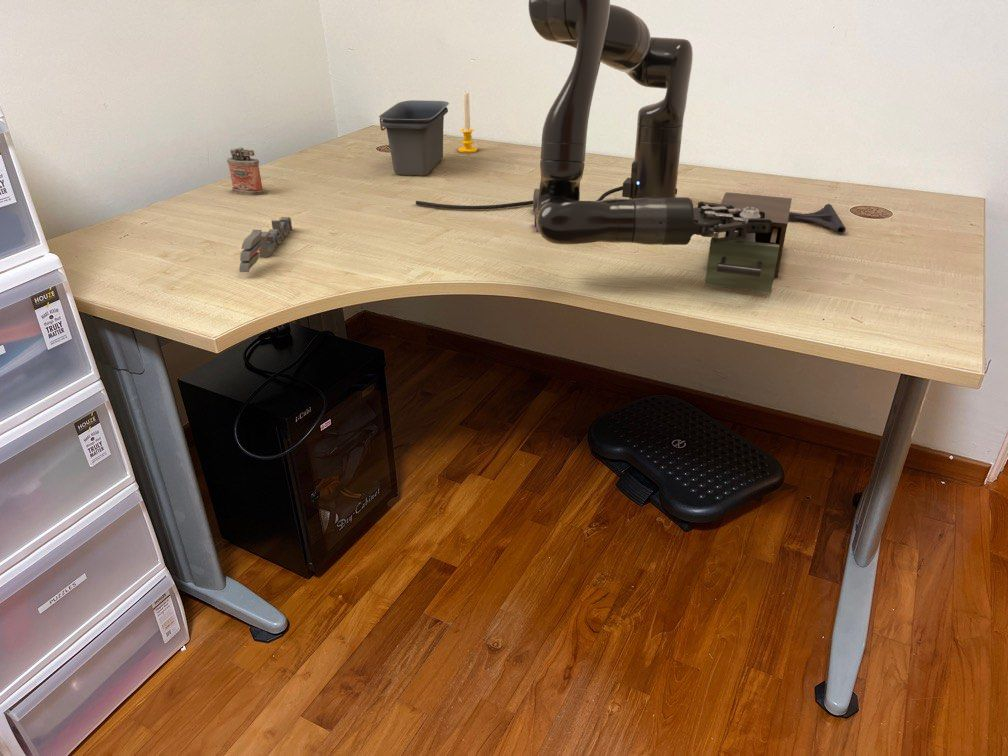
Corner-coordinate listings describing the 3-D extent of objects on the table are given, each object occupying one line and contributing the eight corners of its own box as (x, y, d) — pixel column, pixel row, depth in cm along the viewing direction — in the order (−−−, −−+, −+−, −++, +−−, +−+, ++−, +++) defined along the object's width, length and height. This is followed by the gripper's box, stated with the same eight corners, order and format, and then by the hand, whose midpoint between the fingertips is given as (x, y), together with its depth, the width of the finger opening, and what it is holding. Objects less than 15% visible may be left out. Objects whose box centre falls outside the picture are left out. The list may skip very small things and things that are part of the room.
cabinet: (777, 278, 130) (787, 223, 125) (708, 269, 133) (715, 216, 128) (782, 249, 141) (791, 198, 137) (718, 241, 145) (725, 192, 140)
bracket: (757, 208, 162) (759, 195, 161) (831, 211, 160) (833, 198, 158) (764, 231, 150) (767, 217, 149) (844, 235, 148) (847, 221, 146)
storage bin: (434, 179, 183) (430, 118, 176) (372, 177, 186) (366, 116, 179) (454, 157, 201) (452, 101, 194) (398, 155, 204) (393, 99, 197)
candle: (456, 152, 206) (454, 92, 198) (460, 148, 210) (458, 88, 203) (475, 153, 205) (473, 92, 197) (479, 148, 210) (477, 88, 202)
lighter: (229, 192, 176) (221, 148, 171) (239, 188, 179) (231, 145, 174) (258, 195, 174) (250, 151, 168) (267, 191, 176) (260, 148, 171)
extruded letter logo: (249, 278, 132) (243, 247, 129) (240, 278, 132) (234, 247, 129) (292, 229, 153) (288, 202, 150) (284, 229, 153) (280, 202, 150)
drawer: (768, 305, 118) (776, 258, 114) (700, 296, 121) (706, 250, 117) (776, 263, 133) (784, 220, 129) (715, 256, 136) (721, 214, 132)
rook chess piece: (725, 252, 128) (732, 205, 123) (751, 251, 128) (759, 204, 124) (734, 262, 124) (742, 214, 120) (761, 261, 124) (770, 213, 120)
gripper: (670, 212, 115) (784, 212, 115) (655, 185, 127) (759, 186, 127) (664, 259, 119) (775, 259, 119) (651, 228, 131) (751, 229, 131)
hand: (766, 221), depth 123 cm, fingers closed on rook chess piece, 3 cm apart
